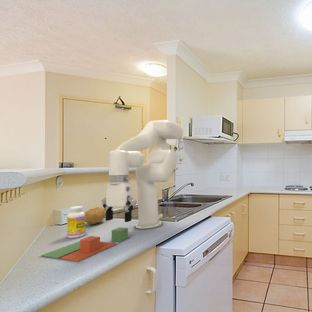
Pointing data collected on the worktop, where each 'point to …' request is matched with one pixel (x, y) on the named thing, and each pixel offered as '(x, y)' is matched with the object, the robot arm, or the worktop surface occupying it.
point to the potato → (95, 215)
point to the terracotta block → (89, 244)
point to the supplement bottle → (76, 222)
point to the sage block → (119, 234)
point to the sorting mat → (76, 252)
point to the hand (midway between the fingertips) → (118, 220)
